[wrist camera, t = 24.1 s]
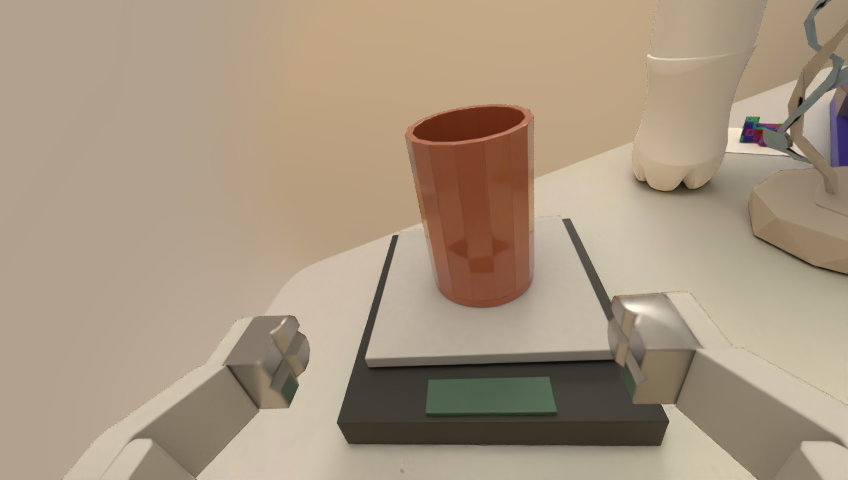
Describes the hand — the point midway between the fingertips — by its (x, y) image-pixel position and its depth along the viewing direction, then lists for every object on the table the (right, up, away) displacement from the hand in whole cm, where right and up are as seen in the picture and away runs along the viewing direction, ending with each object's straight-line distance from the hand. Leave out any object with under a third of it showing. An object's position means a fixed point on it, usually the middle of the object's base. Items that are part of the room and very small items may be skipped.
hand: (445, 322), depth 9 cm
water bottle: (+24, +8, +26) cm, 36 cm away
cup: (+3, 0, +14) cm, 15 cm away
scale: (+4, -3, +15) cm, 16 cm away
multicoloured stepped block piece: (+36, +13, +30) cm, 49 cm away
